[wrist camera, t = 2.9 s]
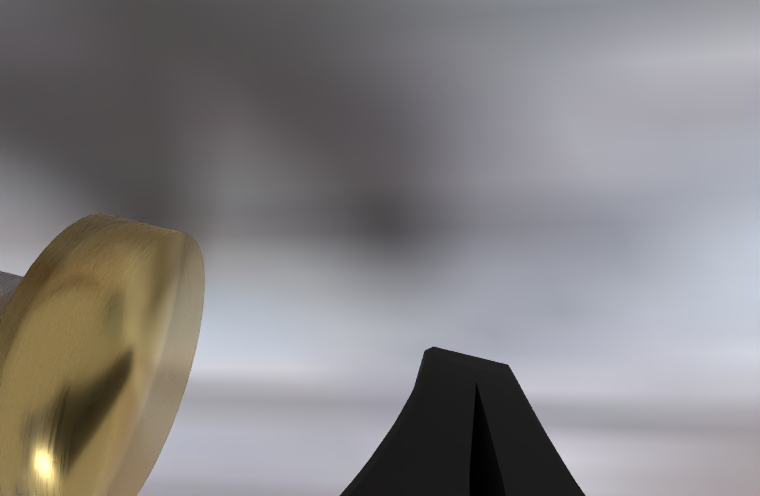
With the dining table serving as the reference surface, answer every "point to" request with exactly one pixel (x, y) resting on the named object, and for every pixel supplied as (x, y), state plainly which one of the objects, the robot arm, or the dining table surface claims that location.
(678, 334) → the dining table surface
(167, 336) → the shaft
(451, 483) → the robot arm
